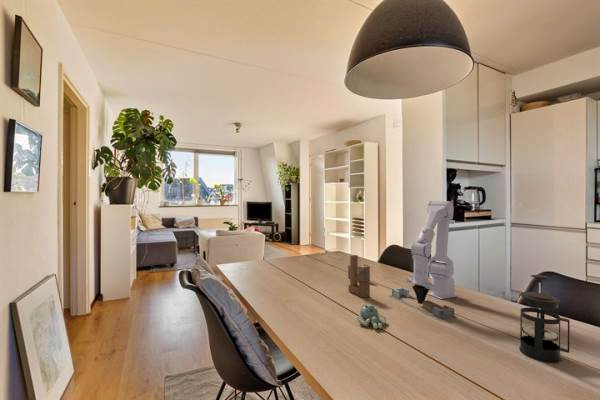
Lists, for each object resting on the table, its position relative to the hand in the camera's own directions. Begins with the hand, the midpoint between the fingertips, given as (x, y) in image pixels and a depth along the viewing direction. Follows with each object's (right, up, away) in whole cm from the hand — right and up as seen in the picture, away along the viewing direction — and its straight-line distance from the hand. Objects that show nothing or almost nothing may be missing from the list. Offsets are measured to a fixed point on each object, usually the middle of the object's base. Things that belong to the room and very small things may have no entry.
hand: (421, 303), depth 122 cm
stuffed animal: (-25, -2, -17) cm, 30 cm away
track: (0, -1, +1) cm, 2 cm away
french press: (+19, -2, -38) cm, 43 cm away
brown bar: (+3, -2, -6) cm, 7 cm away
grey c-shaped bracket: (+4, -1, -11) cm, 12 cm away
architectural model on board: (-19, -2, +39) cm, 44 cm away
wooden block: (-23, -1, +15) cm, 28 cm away
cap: (-5, -1, +12) cm, 13 cm away
